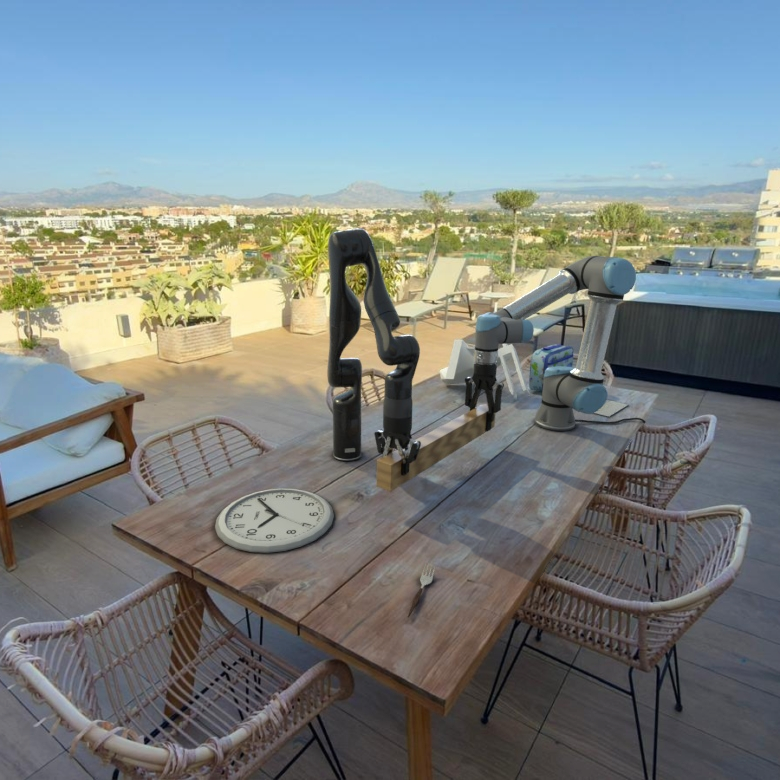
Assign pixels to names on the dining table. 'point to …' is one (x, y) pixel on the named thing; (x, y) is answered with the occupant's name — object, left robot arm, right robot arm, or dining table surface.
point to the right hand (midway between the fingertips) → (480, 428)
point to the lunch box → (548, 363)
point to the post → (433, 447)
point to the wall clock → (274, 520)
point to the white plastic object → (464, 362)
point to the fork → (424, 581)
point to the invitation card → (610, 408)
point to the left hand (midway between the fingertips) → (396, 471)
